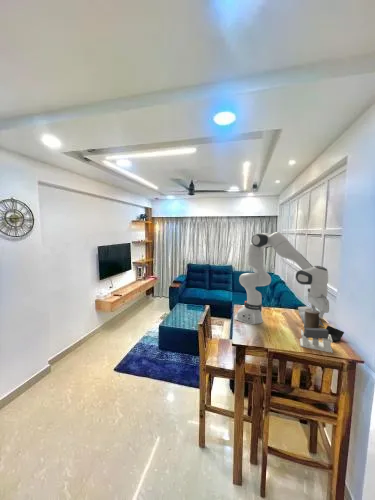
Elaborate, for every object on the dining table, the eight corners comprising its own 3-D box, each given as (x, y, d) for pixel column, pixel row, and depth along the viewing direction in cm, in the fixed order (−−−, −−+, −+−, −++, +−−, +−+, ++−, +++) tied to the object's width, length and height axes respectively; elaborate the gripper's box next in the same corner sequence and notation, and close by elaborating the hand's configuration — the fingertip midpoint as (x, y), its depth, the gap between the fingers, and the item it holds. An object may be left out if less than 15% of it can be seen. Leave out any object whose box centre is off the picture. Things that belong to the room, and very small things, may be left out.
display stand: (300, 346, 136) (301, 335, 135) (299, 339, 145) (300, 328, 144) (332, 353, 129) (333, 341, 128) (329, 345, 138) (330, 333, 137)
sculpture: (296, 312, 195) (297, 301, 194) (320, 315, 188) (321, 304, 187) (299, 322, 172) (299, 310, 171) (326, 327, 165) (327, 314, 164)
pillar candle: (320, 332, 155) (322, 312, 154) (306, 331, 157) (307, 311, 156) (315, 326, 165) (316, 307, 164) (301, 325, 167) (302, 306, 166)
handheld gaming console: (319, 337, 151) (318, 333, 151) (328, 329, 155) (327, 325, 154) (335, 344, 142) (334, 340, 141) (345, 336, 145) (344, 331, 144)
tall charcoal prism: (306, 337, 135) (306, 329, 135) (303, 335, 138) (304, 327, 138) (327, 338, 134) (328, 330, 134) (325, 336, 137) (325, 328, 137)
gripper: (333, 298, 123) (331, 321, 124) (316, 288, 143) (315, 308, 145) (321, 297, 124) (319, 320, 125) (306, 287, 144) (305, 308, 145)
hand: (317, 314), depth 135 cm, fingers open, 8 cm apart
